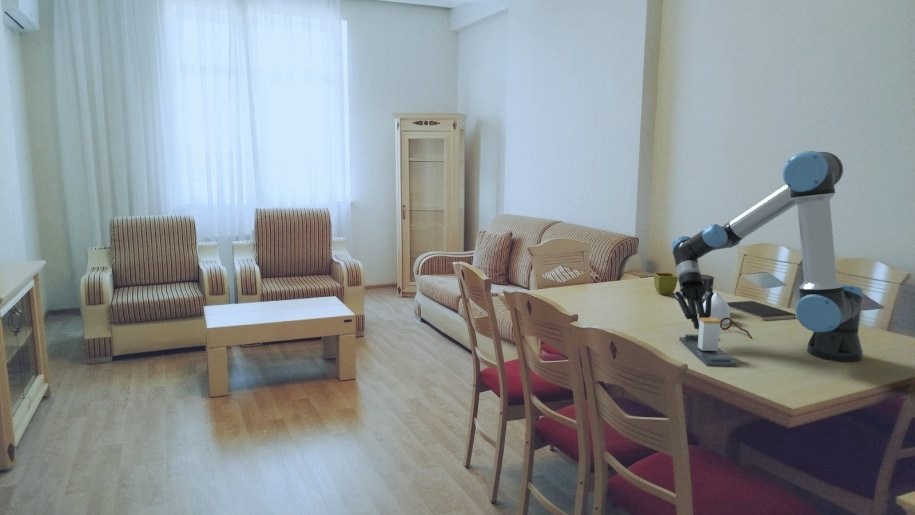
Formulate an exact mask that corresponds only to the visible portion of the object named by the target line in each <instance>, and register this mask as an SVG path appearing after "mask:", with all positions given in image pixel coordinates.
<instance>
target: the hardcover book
mask: <svg viewBox="0 0 915 515" xmlns="http://www.w3.org/2000/svg"><path fill="white" fill-rule="evenodd" d="M726 302H727V301H726ZM727 304H728V305H729V308H730V310H731V309H732V310H731V311H734V310H735V311H734V312H737V313H739V312H740V313H739V314H742V313H743V315H745V314H746V315H745V316H748V315H749V317H751V316H753V317H752V318H754V317H755V319H757V318H758V319H757V320H760V319H761V320H760V321H773V320H785V319H796V318H797V316H796V313H793V312H790V311H787V310H783V309H780V308H778V307H774V306H771V305H767V304H765V303H761V302H758V301H755V300H746V301H730V302H727Z"/></svg>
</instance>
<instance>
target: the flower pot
mask: <svg viewBox="0 0 915 515" xmlns="http://www.w3.org/2000/svg"><path fill="white" fill-rule="evenodd" d="M678 281H679V278H678V275H677V274H674V273H672V272H653V284H654V287H655V290H656V292H657V293H659V295H673V294H674V292H675V290H676V288H677V283H678Z"/></svg>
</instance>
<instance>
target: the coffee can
mask: <svg viewBox="0 0 915 515" xmlns="http://www.w3.org/2000/svg"><path fill="white" fill-rule="evenodd" d="M701 277H702V281H703V286H704V288H705V289H706V291H707V292H709V293H710V292H713V290H714V282H715V281H714V279H715V277H714V276H712V275H710V274H708V275H707V274H701ZM713 293H714V292H713ZM685 301H686V303H687V305H688V307H689V304H688V301H687V299H686V298H685ZM705 301H706V298H705V295H703V297H702V303H704V302H705ZM695 306H696V311H697V313H698V310H697V305H696V303H695ZM689 309H690V308H689Z"/></svg>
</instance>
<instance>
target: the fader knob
mask: <svg viewBox="0 0 915 515" xmlns="http://www.w3.org/2000/svg"><path fill="white" fill-rule="evenodd" d="M720 323H721V321H720V320H718V319H717V318H700V323H699V336H698V347H699V348H700V349H701V350H702V351H718V348H719V344H720V342H719V341H720V340H719V339H720V331H721V328H720Z"/></svg>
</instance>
